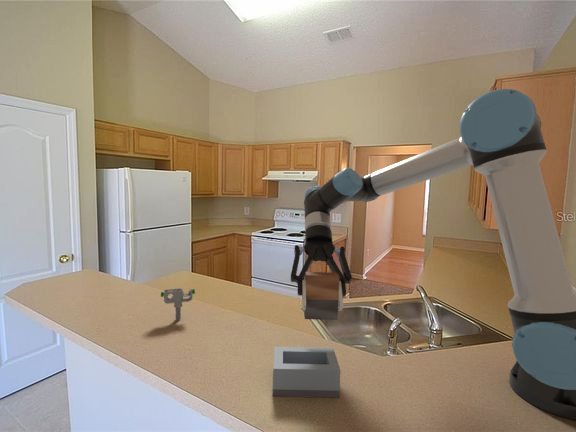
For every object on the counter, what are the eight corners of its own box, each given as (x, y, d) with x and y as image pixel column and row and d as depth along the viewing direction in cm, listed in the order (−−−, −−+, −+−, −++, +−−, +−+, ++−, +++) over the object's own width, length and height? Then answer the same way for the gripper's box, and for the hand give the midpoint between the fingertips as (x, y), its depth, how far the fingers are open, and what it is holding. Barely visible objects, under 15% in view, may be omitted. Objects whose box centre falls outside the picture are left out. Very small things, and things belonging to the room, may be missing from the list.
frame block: (273, 370, 72) (274, 346, 72) (332, 371, 73) (333, 347, 72) (272, 396, 63) (273, 368, 63) (339, 397, 64) (340, 370, 63)
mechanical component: (194, 319, 99) (194, 289, 98) (160, 323, 95) (160, 292, 95) (194, 315, 102) (194, 287, 101) (161, 319, 98) (161, 289, 97)
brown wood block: (304, 314, 77) (305, 271, 76) (335, 315, 77) (337, 272, 76) (304, 319, 74) (306, 275, 73) (337, 320, 74) (339, 276, 73)
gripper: (352, 240, 89) (363, 315, 75) (281, 238, 89) (278, 313, 74) (357, 224, 83) (370, 302, 69) (281, 222, 83) (278, 300, 69)
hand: (322, 308), depth 72 cm, fingers closed on brown wood block, 8 cm apart
